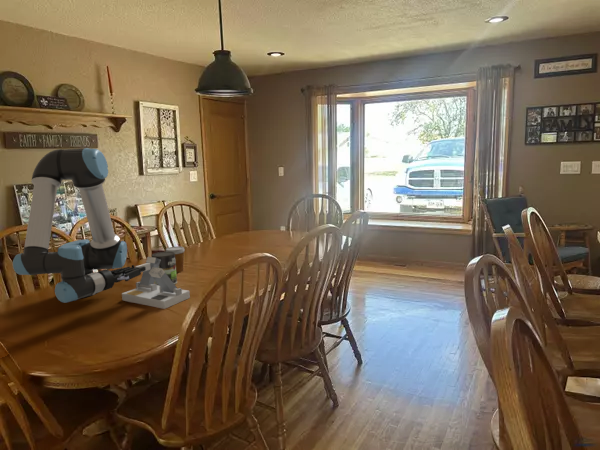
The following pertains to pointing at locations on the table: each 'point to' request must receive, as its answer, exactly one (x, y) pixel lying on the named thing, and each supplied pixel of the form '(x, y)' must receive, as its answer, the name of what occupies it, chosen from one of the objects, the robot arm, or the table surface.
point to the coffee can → (167, 264)
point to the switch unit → (155, 296)
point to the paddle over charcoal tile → (162, 280)
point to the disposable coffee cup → (178, 257)
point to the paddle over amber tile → (146, 277)
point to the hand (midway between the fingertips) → (149, 266)
